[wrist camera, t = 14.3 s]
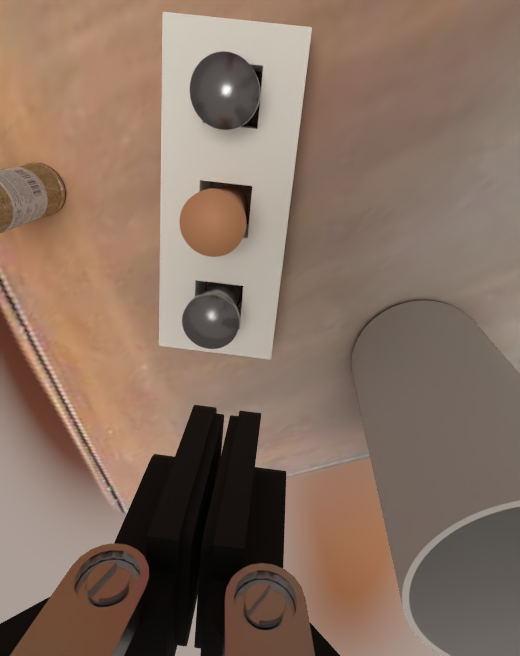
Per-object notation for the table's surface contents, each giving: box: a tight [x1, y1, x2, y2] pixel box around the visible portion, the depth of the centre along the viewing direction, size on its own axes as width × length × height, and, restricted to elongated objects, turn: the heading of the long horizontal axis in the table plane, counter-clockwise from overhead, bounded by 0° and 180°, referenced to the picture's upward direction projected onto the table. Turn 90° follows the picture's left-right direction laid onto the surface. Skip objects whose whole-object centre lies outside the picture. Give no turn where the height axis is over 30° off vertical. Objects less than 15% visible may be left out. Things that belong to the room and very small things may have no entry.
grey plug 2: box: [182, 282, 241, 349], centre depth 39 cm, size 4×4×8 cm
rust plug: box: [179, 186, 247, 257], centre depth 35 cm, size 4×4×8 cm
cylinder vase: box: [351, 301, 520, 656], centre depth 34 cm, size 12×12×25 cm
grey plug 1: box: [190, 51, 260, 130], centre depth 33 cm, size 4×4×8 cm
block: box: [159, 12, 312, 359], centre depth 38 cm, size 10×25×5 cm, turn 174°
